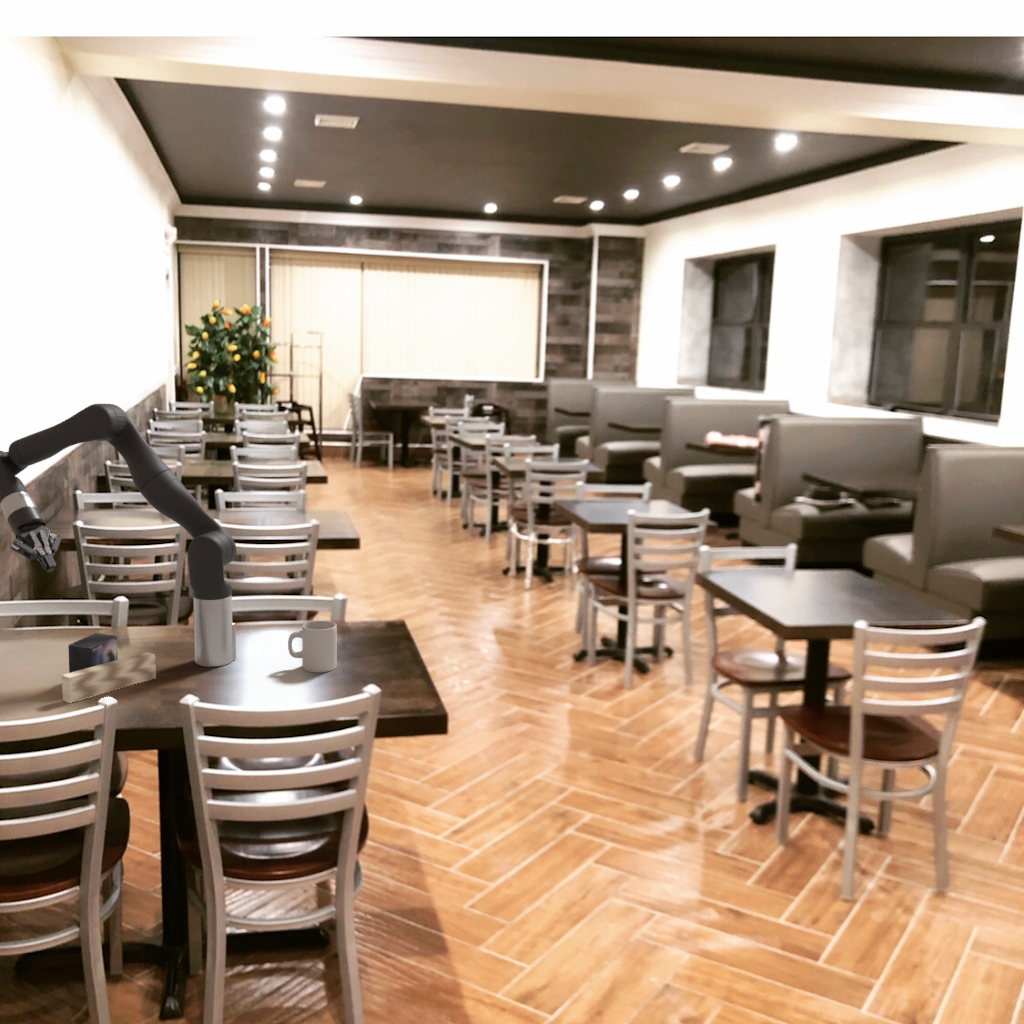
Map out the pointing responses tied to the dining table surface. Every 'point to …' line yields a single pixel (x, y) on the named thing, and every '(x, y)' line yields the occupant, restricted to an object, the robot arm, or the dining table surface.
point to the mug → (316, 646)
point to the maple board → (108, 676)
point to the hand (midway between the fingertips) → (51, 569)
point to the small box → (92, 651)
